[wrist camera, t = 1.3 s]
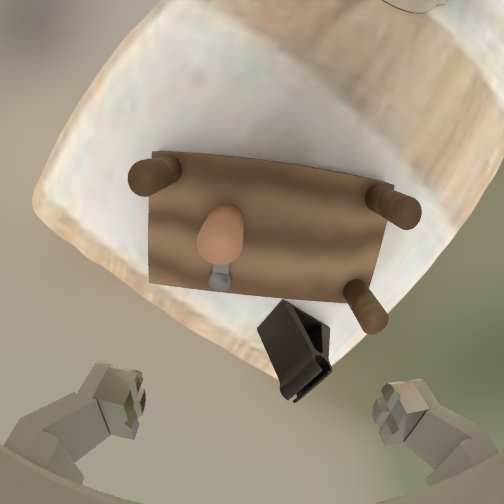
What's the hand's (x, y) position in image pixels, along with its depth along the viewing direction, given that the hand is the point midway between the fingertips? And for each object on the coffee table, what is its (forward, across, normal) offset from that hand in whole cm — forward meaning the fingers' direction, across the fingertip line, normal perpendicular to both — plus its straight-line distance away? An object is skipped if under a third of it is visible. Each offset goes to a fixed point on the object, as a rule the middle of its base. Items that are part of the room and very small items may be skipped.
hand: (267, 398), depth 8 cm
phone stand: (+29, -8, +16) cm, 34 cm away
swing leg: (+25, +3, +4) cm, 25 cm away
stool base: (+28, -2, +1) cm, 28 cm away
